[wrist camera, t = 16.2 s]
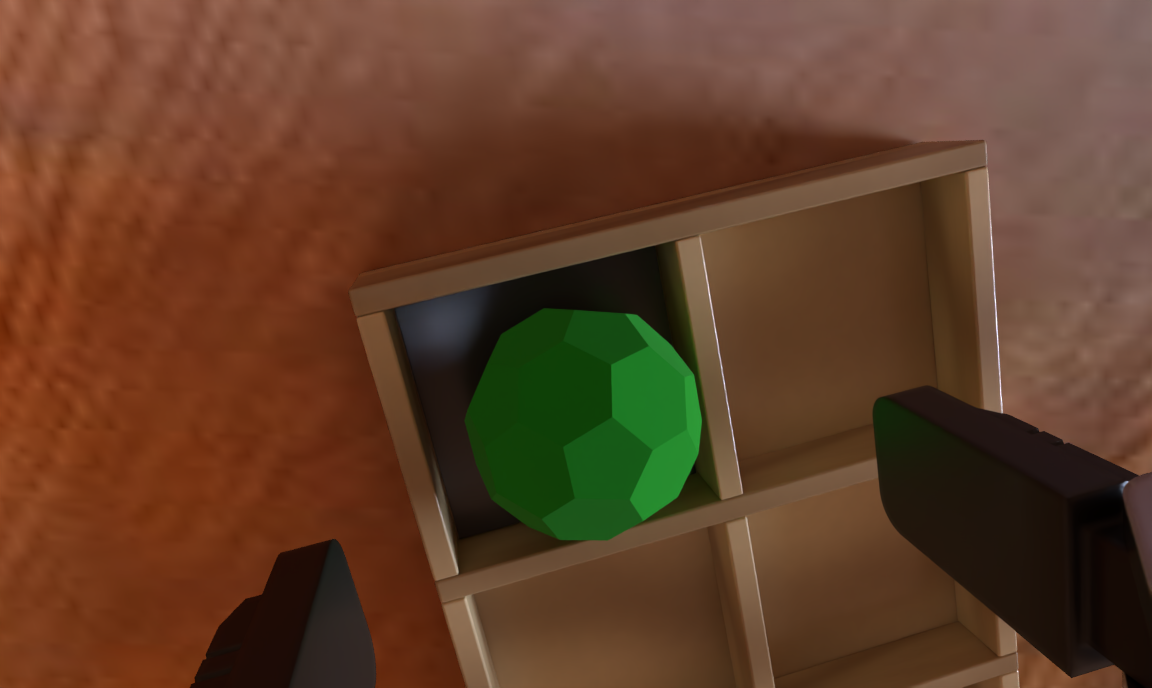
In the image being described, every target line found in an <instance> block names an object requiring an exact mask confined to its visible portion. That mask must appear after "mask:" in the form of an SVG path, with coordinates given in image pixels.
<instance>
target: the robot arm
mask: <svg viewBox="0 0 1152 688" xmlns="http://www.w3.org/2000/svg"><path fill="white" fill-rule="evenodd" d="M872 416H873V428H874V438H875V448H876V459H877V469H878V479H879V489H880V496H881V501H882V504H883V507H884V510H885V512H886V514H887V516H888V518H889V520H890V522H891V524H892V525H893V526H894V528H895V529H896V530H897V531H898V532H899V533H900V534H901V535H902V536H903V537H904V538H905V539H907V540H908V541H909V542H910V543H911V544H912V545H914V546H915V547H916V548H917V549H918V550H920V551H921V552H922V553H923V554H924V555H926V556H927V557H928V558H929V559H930V560H932V561H933V562H934V563H935V564H936V565H937V566H939V567H940V568H941V569H942V570H943V571H945V572H946V573H947V574H948V575H949V576H951V577H952V578H953V579H954V580H955V581H957V582H958V583H959V584H960V585H961V586H962V587H964V588H965V589H966V590H967V591H968V592H970V593H971V594H972V595H973V596H974V597H976V598H977V599H978V600H979V601H980V602H982V603H983V604H984V605H985V606H986V607H987V608H989V609H990V610H991V611H992V612H993V613H995V614H996V615H997V616H998V617H999V618H1001V619H1002V620H1003V621H1004V622H1005V623H1007V624H1008V625H1009V626H1010V627H1011V628H1012V629H1014V630H1015V631H1016V632H1017V633H1018V634H1020V635H1021V636H1022V637H1023V638H1024V639H1026V640H1027V641H1028V642H1029V643H1030V644H1032V645H1033V646H1034V647H1035V648H1036V649H1037V650H1039V651H1040V652H1041V653H1042V654H1043V655H1045V656H1046V657H1047V658H1048V659H1049V660H1051V661H1052V662H1053V663H1054V664H1055V665H1057V666H1058V667H1059V668H1060V669H1061V670H1062V671H1064V672H1065V673H1066V674H1067V675H1068V676H1070V677H1071V678H1073V677H1076V676H1079V675H1082V674H1086V673H1089V672H1092V671H1095V670H1098V669H1101V668H1105V667H1108V666H1111V665H1116V666H1117V667H1118V668H1120V669H1121V670H1122V688H1152V472H1150V473H1146V474H1143V475H1140V476H1139V475H1137V474H1134V473H1132V472H1130V471H1128V470H1126V469H1124V468H1122V467H1120V466H1117V465H1115V464H1113V463H1111V462H1109V461H1107V460H1105V459H1102V458H1100V457H1098V456H1096V455H1094V454H1092V453H1090V452H1087V451H1085V450H1083V449H1081V448H1079V447H1077V446H1075V445H1072V444H1070V443H1066V444H1064V443H1063V440H1062V439H1060V438H1058V437H1055V436H1053V435H1051V434H1049V433H1047V432H1045V431H1043V432H1039V430H1038V428H1036V427H1034V426H1032V425H1030V424H1028V423H1025V422H1023V421H1021V420H1019V419H1017V418H1015V417H1013V416H1010V415H1008V414H1003V413H999V412H994V411H989V410H985V409H980V408H976V407H974V406H972V405H969V404H967V403H965V402H963V401H961V400H959V399H957V398H955V397H953V396H951V395H949V394H947V393H945V392H943V391H940V390H938V389H936V388H934V387H932V386H929V385H925V386H921V387H917V388H913V389H909V390H905V391H902V392H898V393H894V394H890V395H886V396H882V397H879V398H878V399H877V400H876V401H875V403H874V405H873V412H872ZM375 684H376V663H375V654H374V648H373V643H372V639H371V635H370V632H369V628H368V625H367V622H366V619H365V616H364V613H363V610H362V607H361V604H360V601H359V597H358V594H357V591H356V588H355V585H354V582H353V579H352V576H351V573H350V570H349V567H348V564H347V560H346V557H345V555H344V552H343V550H342V547H341V545H340V544H339V542H338V541H337V540H336V539H332V540H328V541H324V542H320V543H316V544H313V545H309V546H305V547H301V548H297V549H294V550H290V551H286V552H282V553H280V554H279V555H278V557H277V559H276V562H275V564H274V566H273V569H272V571H271V574H270V576H269V579H268V581H267V584H266V586H265V589H264V591H263V594H262V595H259V596H255V597H251V598H247V599H245V600H244V601H243V602H242V603H241V604H240V605H239V606H238V607H237V608H236V609H235V610H234V611H233V612H232V613H231V615H230V616H229V617H228V618H227V619H226V620H225V621H224V622H223V623H222V624H221V625H220V626H219V627H218V629H217V631H216V633H215V636H214V638H213V640H212V642H211V644H210V646H209V648H208V650H207V653H206V659H205V660H203V661H202V663H201V665H200V667H199V670H198V672H197V674H196V676H195V683H194V684H191V687H190V688H375Z"/></svg>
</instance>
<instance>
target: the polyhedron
mask: <svg viewBox="0 0 1152 688" xmlns="http://www.w3.org/2000/svg"><path fill="white" fill-rule="evenodd" d="M464 421H465V425H466V428H467V432H468V436H469V439H470V443H471V447H472V451H473V454H474V458H475V462H476V465H477V467H478V470H479V472H480V474H481V477H482V479H483V481H484V484H485V486H486V488H487V491H488V493H489V495H490V498H491V500H493V501H494V502H496V503H497V504H498V505H500V506H501V507H502V508H504V509H505V510H506V511H508V512H509V513H510V514H512V515H513V516H514V517H516V518H517V519H518V520H520V521H521V522H523V523H524V524H525V525H527V526H528V527H530V528H532V529H535V530H537V531H539V532H542V533H544V534H547V535H549V536H552V537H554V538H557V539H559V540H598V541H608V540H610V539H612V538H613V537H615V536H617V535H619V534H621V533H622V532H624V531H626V530H628V529H630V528H632V527H633V526H635V525H637V524H639V523H641V522H642V521H644V520H646V519H647V518H648V517H650V516H651V515H653V514H654V513H656V512H657V511H659V510H660V509H661V508H663V507H664V506H666V505H667V504H669V503H670V502H672V501H673V500H674V499H676V498H677V497H678V496H679V494H680V492H681V490H682V488H683V485H684V483H685V481H686V479H687V477H688V475H689V473H690V471H691V469H692V467H693V465H694V463H695V461H696V458H697V456H698V453H699V444H700V434H701V425H702V417H701V412H700V406H699V400H698V395H697V389H696V383H695V378H694V374H693V373H692V371H691V370H690V369H689V368H688V366H687V365H686V364H685V362H684V361H683V360H682V358H681V357H680V356H679V355H678V353H677V352H676V351H675V349H674V348H673V347H672V346H671V344H669V343H668V342H667V341H666V340H665V339H664V338H663V337H661V336H660V335H659V334H658V333H657V332H656V331H655V330H654V329H652V328H651V327H650V326H649V325H648V324H647V323H646V322H645V321H643V320H642V319H641V318H640V317H639V316H638V315H634V314H624V313H610V312H596V311H582V310H566V309H548V308H543V309H542V310H540V311H538V312H537V313H535V314H533V315H532V316H530V317H529V318H527V319H525V320H524V321H522V322H520V323H519V324H517V325H515V326H514V327H512V328H511V329H509V330H507V331H506V332H504V333H502V334H501V336H500V338H499V340H498V342H497V344H496V346H495V348H494V350H493V352H492V354H491V357H490V359H489V361H488V363H487V365H486V368H485V370H484V372H483V375H482V377H481V379H480V382H479V384H478V386H477V389H476V391H475V393H474V396H473V398H472V401H471V403H470V405H469V408H468V410H467V413H466V417H465V420H464Z"/></svg>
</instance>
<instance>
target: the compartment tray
mask: <svg viewBox="0 0 1152 688" xmlns="http://www.w3.org/2000/svg"><path fill="white" fill-rule="evenodd" d="M987 163H988V162H987V146H986V141H985V140H966V141H937V142H920V143H916V144H911V145H907V146H903V147H898V148H894V149H890V150H886V151H881V152H877V153H873V154H869V155H864V156H860V157H856V158H851V159H847V160H843V161H839V162H834V163H830V164H826V165H821V166H817V167H813V168H809V169H804V170H800V171H796V172H792V173H787V174H783V175H779V176H774V177H770V178H766V179H762V180H757V181H753V182H749V183H744V184H740V185H736V186H732V187H727V188H723V189H719V190H714V191H710V192H706V193H702V194H697V195H693V196H689V197H685V198H680V199H676V200H672V201H667V202H663V203H659V204H655V205H650V206H646V207H642V208H637V209H633V210H629V211H625V212H620V213H616V214H612V215H608V216H603V217H599V218H595V219H590V220H586V221H582V222H578V223H573V224H569V225H565V226H560V227H556V228H552V229H548V230H543V231H539V232H535V233H530V234H526V235H522V236H518V237H513V238H509V239H505V240H501V241H496V242H492V243H488V244H483V245H479V246H475V247H471V248H466V249H462V250H458V251H453V252H449V253H445V254H441V255H436V256H432V257H428V258H424V259H419V260H415V261H411V262H406V263H402V264H398V265H394V266H389V267H385V268H381V269H376V270H372V271H368V272H364V273H360V274H359V275H358V277H357V279H356V280H355V282H354V283H353V285H352V286H351V288H350V289H349V291H348V294H349V298H350V301H351V304H352V308H353V311H354V314H355V315H356V316H358V317H357V320H356V321H357V324H358V328H359V331H360V334H361V338H362V341H363V344H364V348H365V351H366V355H367V358H368V361H369V365H370V368H371V371H372V375H373V378H374V381H375V385H376V388H377V391H378V395H379V398H380V401H381V405H382V408H383V411H384V415H385V418H386V422H387V425H388V428H389V432H390V435H391V438H392V442H393V445H394V448H395V452H396V455H397V458H398V462H399V465H400V468H401V472H402V475H403V479H404V482H405V485H406V489H407V492H408V495H409V499H410V502H411V505H412V509H413V512H414V515H415V519H416V522H417V525H418V529H419V532H420V535H421V539H422V542H423V546H424V549H425V552H426V556H427V559H428V562H429V566H430V569H431V572H432V576H433V579H434V580H435V586H436V589H437V592H438V596H439V599H440V601H441V605H442V609H443V612H444V616H445V619H446V623H447V626H448V629H449V633H450V636H451V639H452V643H453V646H454V649H455V653H456V656H457V659H458V663H459V666H460V669H461V673H462V676H463V679H464V683H465V686H466V688H1019V673H1018V670H1017V669H1018V654H1017V652H1016V651H1017V640H1016V631H1015V630H1014V629H1012V628H1011V627H1010V626H1009V625H1008V624H1007V623H1005V622H1004V621H1003V620H1002V619H1001V618H999V617H998V616H997V615H996V614H995V613H993V612H992V611H991V610H990V609H989V608H987V607H986V606H985V605H984V604H983V603H982V602H980V601H979V600H978V599H977V598H976V597H974V596H973V595H972V594H971V593H970V592H968V591H967V590H966V589H965V588H964V587H962V586H961V585H960V584H959V583H958V582H957V581H955V580H954V579H953V578H952V577H951V576H949V575H948V574H947V573H946V572H945V571H943V570H942V569H941V568H940V567H939V566H937V565H936V564H935V563H934V562H933V561H932V560H930V559H929V558H928V557H927V556H926V555H924V554H923V553H922V552H921V551H920V550H918V549H917V548H916V547H915V546H914V545H912V544H911V543H910V542H909V541H908V540H907V539H905V538H904V537H903V536H902V535H901V534H900V533H899V532H898V531H897V530H896V529H895V528H894V526H893V525H892V524H891V522H890V520H889V518H888V516H887V514H886V512H885V510H884V507H883V504H882V501H881V496H880V489H879V479H878V469H877V459H876V448H875V438H874V428H873V416H872V412H873V405H874V403H875V401H876V400H877V399H878V398H879V397H882V396H886V395H890V394H894V393H898V392H902V391H905V390H909V389H913V388H917V387H921V386H925V385H929V386H932V387H934V388H936V389H938V390H940V391H943V392H945V393H947V394H949V395H951V396H953V397H955V398H957V399H959V400H961V401H963V402H965V403H967V404H969V405H972V406H974V407H976V408H980V409H985V410H989V411H994V412H999V413H1003V410H1002V393H1001V377H1000V360H999V344H998V327H997V311H996V294H995V278H994V261H993V245H992V228H991V212H990V195H989V179H988V168H987V167H985V165H987ZM543 308H548V309H566V310H582V311H596V312H610V313H624V314H634V315H638V316H639V317H640V318H641V319H642V320H643V321H645V322H646V323H647V324H648V325H649V326H650V327H651V328H652V329H654V330H655V331H656V332H657V333H658V334H659V335H660V336H661V337H663V338H664V339H665V340H666V341H667V342H668V343H669V344H671V346H672V347H673V348H674V349H675V351H676V352H677V353H678V355H679V356H680V357H681V358H682V360H683V361H684V362H685V364H686V365H687V366H688V368H689V369H690V370H691V371H692V373H693V374H694V378H695V383H696V389H697V395H698V400H699V406H700V412H701V417H702V425H701V434H700V444H699V453H698V456H697V458H696V461H695V463H694V465H693V467H692V469H691V471H690V473H689V475H688V477H687V479H686V481H685V483H684V485H683V488H682V490H681V492H680V494H679V496H678V497H677V498H676V499H674V500H673V501H672V502H670V503H669V504H667V505H666V506H664V507H663V508H661V509H660V510H659V511H657V512H656V513H654V514H653V515H651V516H650V517H648V518H647V519H646V520H644V521H642V522H641V523H639V524H637V525H635V526H633V527H632V528H630V529H628V530H626V531H624V532H622V533H621V534H619V535H617V536H615V537H613V538H612V539H610V540H608V541H598V540H559V539H557V538H554V537H552V536H549V535H547V534H544V533H542V532H539V531H537V530H535V529H532V528H530V527H528V526H527V525H525V524H524V523H523V522H521V521H520V520H518V519H517V518H516V517H514V516H513V515H512V514H510V513H509V512H508V511H506V510H505V509H504V508H502V507H501V506H500V505H498V504H497V503H496V502H494V501H493V500H491V498H490V495H489V493H488V491H487V488H486V486H485V484H484V481H483V479H482V477H481V474H480V472H479V470H478V467H477V465H476V462H475V458H474V454H473V451H472V447H471V443H470V439H469V436H468V432H467V428H466V425H465V421H464V420H465V417H466V413H467V410H468V408H469V405H470V403H471V401H472V398H473V396H474V393H475V391H476V389H477V386H478V384H479V382H480V379H481V377H482V375H483V372H484V370H485V368H486V365H487V363H488V361H489V359H490V357H491V354H492V352H493V350H494V348H495V346H496V344H497V342H498V340H499V338H500V336H501V334H502V333H504V332H506V331H507V330H509V329H511V328H512V327H514V326H515V325H517V324H519V323H520V322H522V321H524V320H525V319H527V318H529V317H530V316H532V315H533V314H535V313H537V312H538V311H540V310H542V309H543Z"/></svg>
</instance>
